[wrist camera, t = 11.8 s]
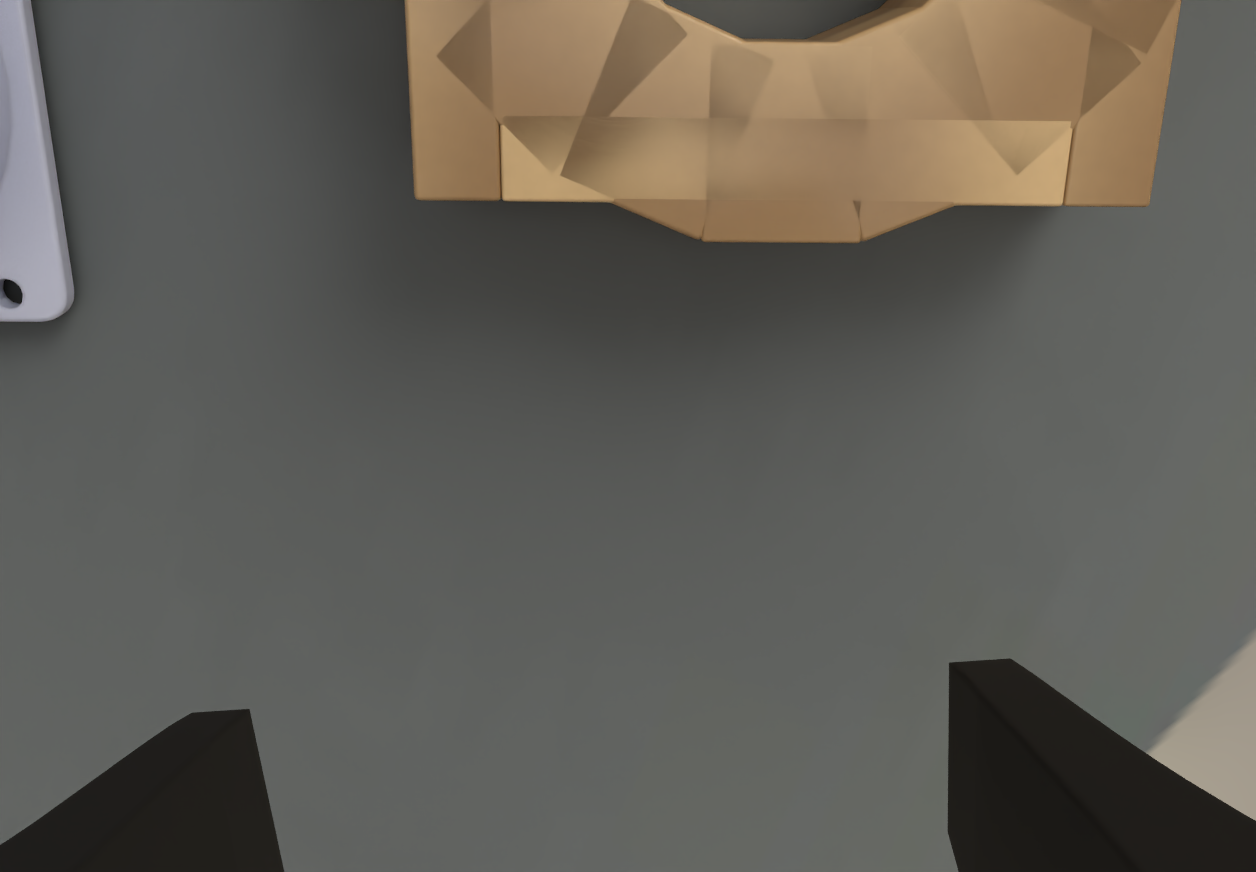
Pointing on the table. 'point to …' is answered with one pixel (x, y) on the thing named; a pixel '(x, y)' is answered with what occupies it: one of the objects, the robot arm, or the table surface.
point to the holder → (789, 111)
